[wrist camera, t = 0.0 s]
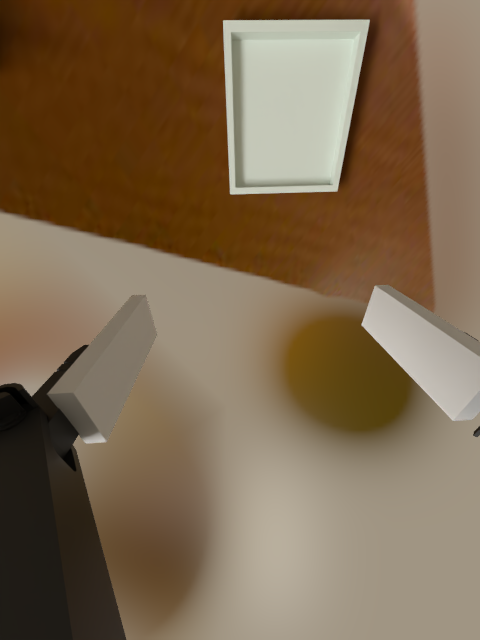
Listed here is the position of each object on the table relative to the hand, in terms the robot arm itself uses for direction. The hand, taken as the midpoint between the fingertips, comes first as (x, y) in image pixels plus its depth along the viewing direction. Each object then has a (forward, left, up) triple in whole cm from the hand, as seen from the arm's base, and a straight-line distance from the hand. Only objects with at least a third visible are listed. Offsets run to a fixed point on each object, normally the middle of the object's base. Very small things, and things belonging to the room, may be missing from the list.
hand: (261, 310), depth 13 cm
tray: (-13, +7, -28) cm, 32 cm away
